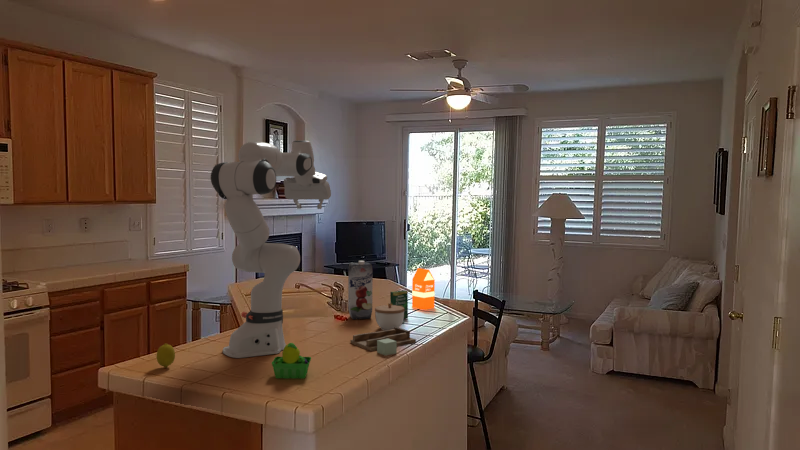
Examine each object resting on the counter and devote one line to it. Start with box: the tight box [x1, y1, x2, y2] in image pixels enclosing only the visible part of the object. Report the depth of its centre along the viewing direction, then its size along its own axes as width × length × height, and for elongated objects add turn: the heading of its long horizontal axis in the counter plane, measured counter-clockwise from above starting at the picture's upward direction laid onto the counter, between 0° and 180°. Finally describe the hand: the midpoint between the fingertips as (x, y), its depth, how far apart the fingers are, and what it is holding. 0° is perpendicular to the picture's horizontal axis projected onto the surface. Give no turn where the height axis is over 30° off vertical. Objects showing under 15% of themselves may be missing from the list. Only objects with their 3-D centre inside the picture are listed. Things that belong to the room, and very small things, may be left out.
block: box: [376, 338, 398, 356], centre depth 196 cm, size 5×5×4 cm
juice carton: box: [347, 260, 374, 320], centre depth 254 cm, size 9×10×27 cm
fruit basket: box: [271, 342, 312, 380], centre depth 169 cm, size 11×9×11 cm
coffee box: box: [390, 289, 409, 320], centre depth 252 cm, size 8×3×13 cm, turn 118°
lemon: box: [156, 342, 176, 369], centre depth 177 cm, size 6×6×8 cm
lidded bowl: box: [374, 302, 405, 331], centre depth 233 cm, size 13×13×11 cm
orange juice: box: [411, 267, 436, 310], centre depth 280 cm, size 8×9×20 cm
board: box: [350, 327, 417, 352], centre depth 210 cm, size 21×14×4 cm, turn 127°
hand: (309, 208), depth 236 cm, fingers open, 8 cm apart
